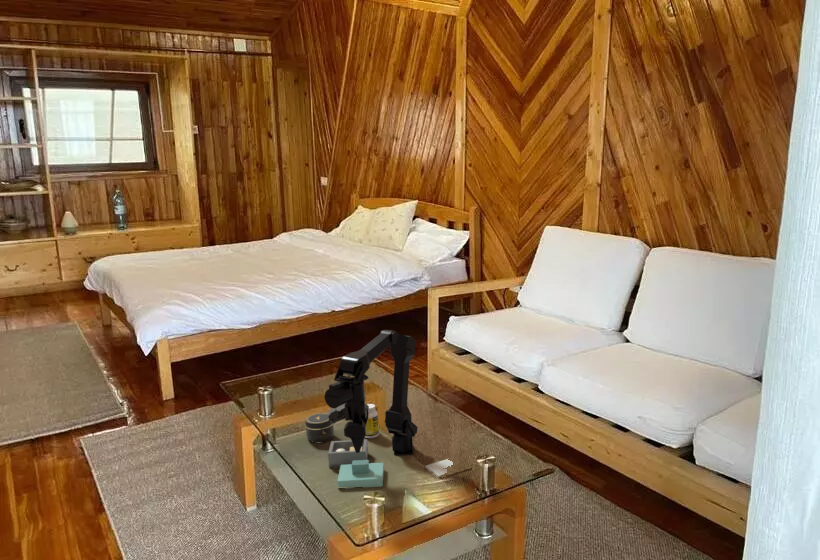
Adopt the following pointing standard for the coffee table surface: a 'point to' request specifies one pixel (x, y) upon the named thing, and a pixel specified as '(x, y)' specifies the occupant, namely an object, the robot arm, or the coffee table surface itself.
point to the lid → (361, 474)
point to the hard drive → (439, 467)
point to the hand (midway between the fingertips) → (358, 445)
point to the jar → (319, 427)
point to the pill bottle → (372, 423)
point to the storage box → (345, 453)
